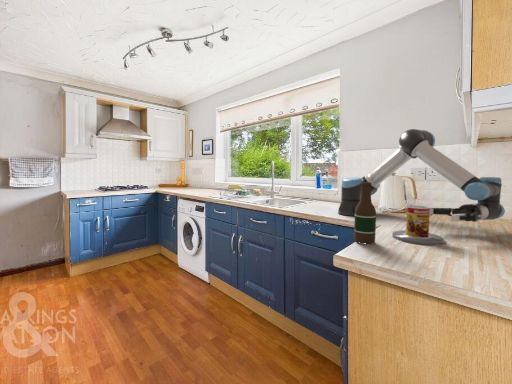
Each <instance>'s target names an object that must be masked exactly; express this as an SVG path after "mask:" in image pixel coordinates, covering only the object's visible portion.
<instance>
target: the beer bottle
mask: <svg viewBox="0 0 512 384" xmlns="http://www.w3.org/2000/svg"><path fill="white" fill-rule="evenodd" d="M361 185H362V190H361V199H360V203H359V204H358V205H357V207H356V209H355V216H354V221H353V222H354V226H353V227H354V229H353V240H354V242H355V243H356V242H360V243H366V244H371V245H373V244H372V243H374V244H375V243H376V225H377V211H376V207H375V206H374V204H373V202H372V195H371V185H372V184H371V182H362V183H361Z"/></svg>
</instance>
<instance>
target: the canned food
mask: <svg viewBox="0 0 512 384" xmlns="http://www.w3.org/2000/svg"><path fill="white" fill-rule="evenodd" d="M430 208H431V207H428V206H424V205H423V206H422V205H407V206H406V228H405V230H406V235H408V236H411V237H417V238H427V237H428V233H430V229H429V228H430V216H431V215H430Z"/></svg>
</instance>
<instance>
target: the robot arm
mask: <svg viewBox="0 0 512 384" xmlns="http://www.w3.org/2000/svg"><path fill="white" fill-rule="evenodd" d="M398 143H399V148H398V149H397V150H396V151H395V152H393V153H392V154H391V155H390V156H389V157H388V158H386V159H385V160H384V161H383V162H382V163H381V164H380V165H379V166H377V167H376V168H374V170H372V172H370V173H365V175H364V176H363V177H359V176H358V177H357V176H354V177H353V176H352V177H345V178H343V179H342V180H341V184H340V185H341V193H340V194H341V198H340V205H339V206H338V210H337V213H339V214H338V215H341V214H342V215H341V216H346V215H349V217H355V209H356V207H357V205H358V204H359V203H360V199H361V190H362V185H361V183H362V182H371V184H372V185H371V196H373V195H375V194H376V193H377V192H378V190H379V188H380V187H381V183H383V182H384V181H385V180H387V178H388V177H390V176H391V175H392V174H394V173H395V172H396V171H397V170H399V169H400V168H401V167H402V166H404V165H405V164H406V163H407V162H409V161H410V160H411V159H412V160H413V159H419V160H421V162H423V163H424V164H426V165H427V166H428V167H430V168H431V169H432V170H433V171H436V172H437V173H438V174H439V175H441V176H442V177H443V178H445V179H446V180H448V181H449V182H450V183H451V184H452V185H455V186H456V187H457V188H458V189H460V190H461V191H463V192H464V194H465V197H466V198H467V199H469V200H473V201H477V203H467V204H466V203H465V204H462V205H460V206H459V207H456V208H453V207H452V208H451V207H430V216H434V215H440V216H441V215H443V216H449V217H450V218H451V219H450V221H451V222H454V223H455V222H462V221H463V222H473V223H476V222H478V221H486V220H487V221H488V220H498V219H500V218H502V217H504V214H505V213H506V210H505V208H504V206H503V205H502V204H501V194H502V193H501V192H502V186H503V183H502V178H501V177H495V176H494V177H493V176H492V177H491V176H484V177H483V176H481V177H480V178H478V177H477V176H476V175H474V174H473V173H471V172H470V171H468V169H466V168H464V167H463V166H461V165H460V164H459V163H457V162H455V161H454V160H452V159H451V158H449V157H448V156H446V155H445V154H444V153H443V152H441V151H439V150H438V149H436V148H435V147H434V146H435V144H436V138H435V136H434V134H433V133H432V132H430V131H429V130H428V131H427V130H424V129H423V130H421V129H416V128H410V129H407V130H405V131H404V132H403V133H401V135H400V137H399V139H398Z"/></svg>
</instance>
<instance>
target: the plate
mask: <svg viewBox="0 0 512 384" xmlns="http://www.w3.org/2000/svg"><path fill="white" fill-rule="evenodd" d="M392 238H393V239H395V238H396V240H397V239H398V240H399V241H400V240H401V242H404V243H409V244H413V243H414V244H415V245H422V246H423V245H424V246H435V245H434V244H439V245H442V243H443V244H444V242H445V240H444V239H445V238H444V237H442V236H441V235H438V234H435V233H430V232H429V233H428V237H427V238H417V237H411V236H408V235H406V229H405V230H402V229H401V230H395V231H393V232H392Z"/></svg>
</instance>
